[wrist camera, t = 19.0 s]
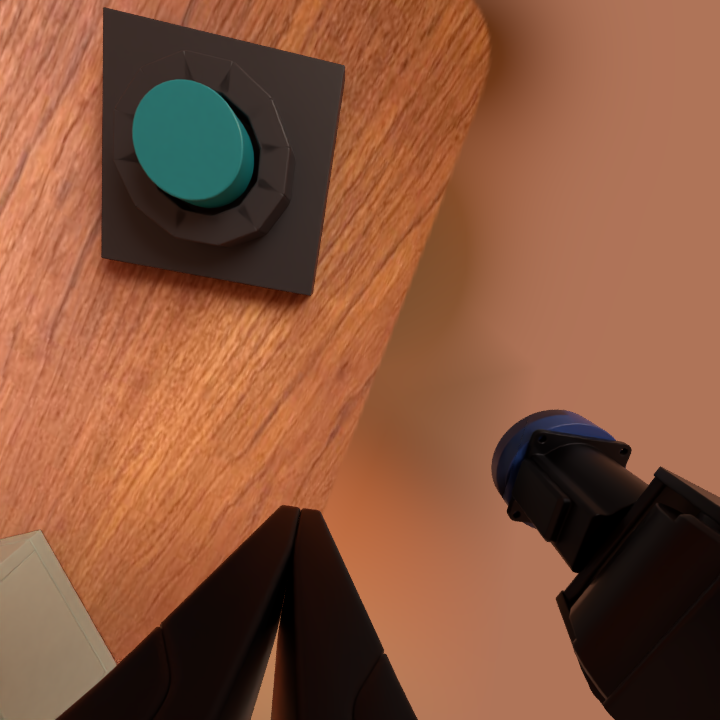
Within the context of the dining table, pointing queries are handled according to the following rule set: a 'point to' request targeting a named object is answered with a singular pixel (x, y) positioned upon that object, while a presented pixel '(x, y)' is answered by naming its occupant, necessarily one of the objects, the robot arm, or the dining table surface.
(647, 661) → the robot arm
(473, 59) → the dining table surface
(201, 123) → the button
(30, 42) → the dining table surface
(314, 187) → the panel
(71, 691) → the gray-green storage box
